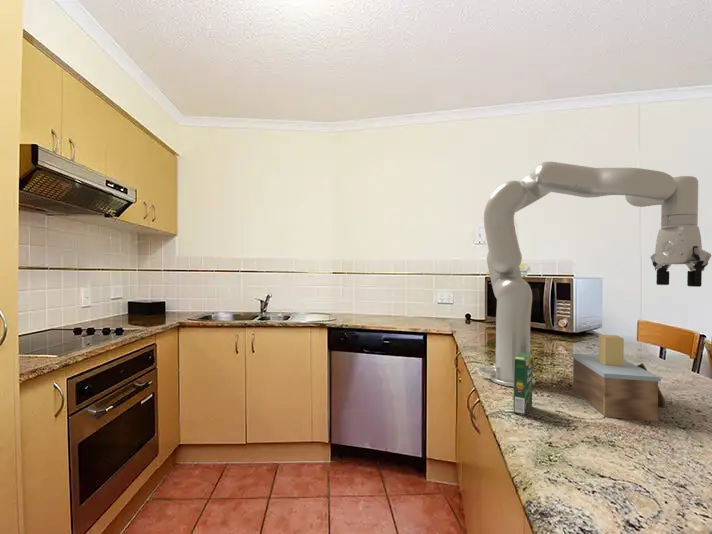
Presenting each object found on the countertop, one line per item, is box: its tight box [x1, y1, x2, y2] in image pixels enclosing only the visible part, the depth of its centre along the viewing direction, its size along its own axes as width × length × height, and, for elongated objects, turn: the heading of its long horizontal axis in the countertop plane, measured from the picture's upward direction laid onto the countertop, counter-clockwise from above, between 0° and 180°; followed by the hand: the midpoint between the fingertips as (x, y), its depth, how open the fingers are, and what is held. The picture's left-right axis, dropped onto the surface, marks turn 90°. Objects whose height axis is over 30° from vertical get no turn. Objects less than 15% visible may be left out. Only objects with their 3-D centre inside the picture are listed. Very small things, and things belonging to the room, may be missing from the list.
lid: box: [571, 334, 661, 383], centre depth 94 cm, size 11×21×8 cm, turn 167°
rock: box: [636, 363, 669, 409], centre depth 98 cm, size 11×9×10 cm
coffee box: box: [513, 352, 534, 416], centre depth 88 cm, size 8×3×13 cm, turn 144°
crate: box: [572, 357, 659, 422], centre depth 94 cm, size 11×21×9 cm, turn 167°
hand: (677, 285), depth 101 cm, fingers open, 9 cm apart
